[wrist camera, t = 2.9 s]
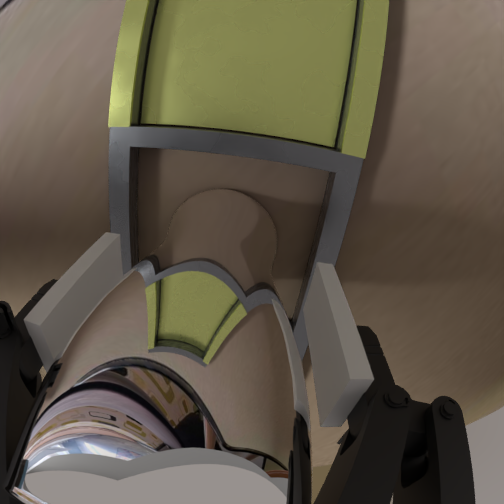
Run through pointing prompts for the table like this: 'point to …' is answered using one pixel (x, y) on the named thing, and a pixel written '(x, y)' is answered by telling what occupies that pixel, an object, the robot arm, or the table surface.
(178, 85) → the grey flat frame
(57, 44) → the table surface
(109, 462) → the beer glass
